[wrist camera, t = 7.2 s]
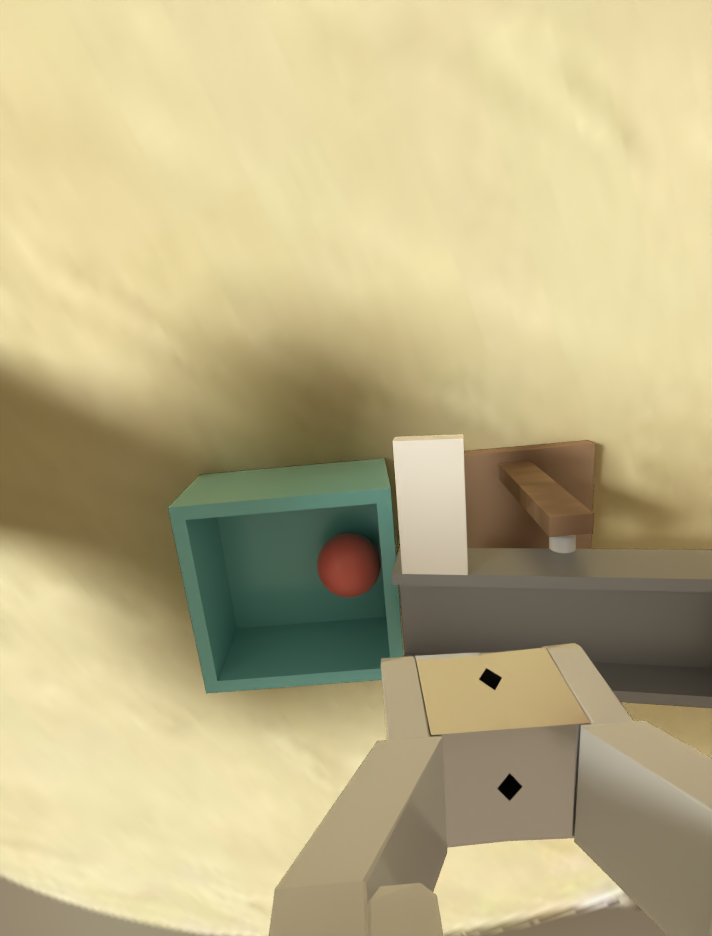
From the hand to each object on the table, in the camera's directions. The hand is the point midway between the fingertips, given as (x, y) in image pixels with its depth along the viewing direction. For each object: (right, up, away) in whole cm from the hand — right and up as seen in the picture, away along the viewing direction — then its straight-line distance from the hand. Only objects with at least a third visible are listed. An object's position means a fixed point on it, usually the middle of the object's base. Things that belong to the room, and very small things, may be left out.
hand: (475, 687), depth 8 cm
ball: (-2, -3, +25) cm, 25 cm away
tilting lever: (+8, -1, +18) cm, 20 cm away
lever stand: (+9, -1, +27) cm, 28 cm away
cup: (-5, -2, +27) cm, 28 cm away
